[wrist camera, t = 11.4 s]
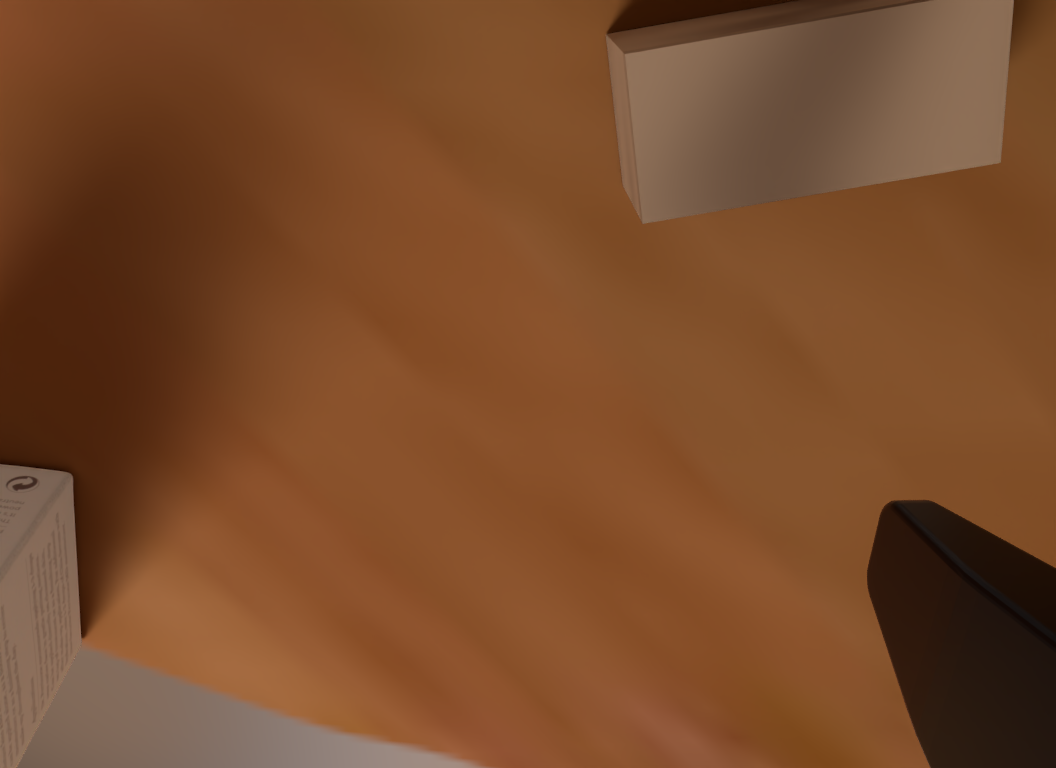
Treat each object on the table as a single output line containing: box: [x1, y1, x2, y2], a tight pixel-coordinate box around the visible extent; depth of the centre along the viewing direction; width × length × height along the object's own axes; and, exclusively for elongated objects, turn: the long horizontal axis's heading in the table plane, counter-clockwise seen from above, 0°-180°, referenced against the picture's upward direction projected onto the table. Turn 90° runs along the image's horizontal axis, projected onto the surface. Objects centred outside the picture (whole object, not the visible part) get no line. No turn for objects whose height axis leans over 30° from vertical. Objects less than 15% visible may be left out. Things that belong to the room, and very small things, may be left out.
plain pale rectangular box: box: [606, 0, 1014, 224], centre depth 19 cm, size 7×3×3 cm, turn 99°
